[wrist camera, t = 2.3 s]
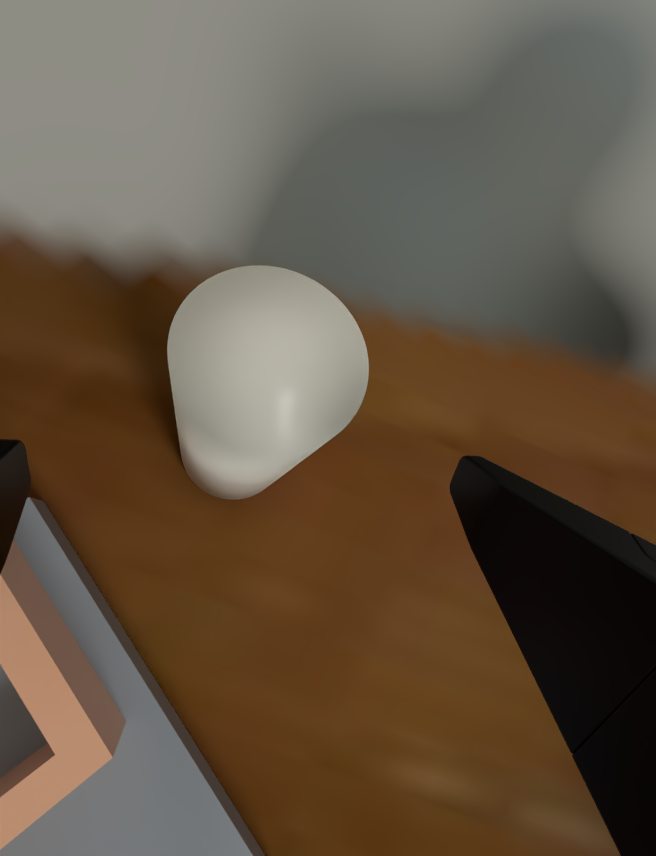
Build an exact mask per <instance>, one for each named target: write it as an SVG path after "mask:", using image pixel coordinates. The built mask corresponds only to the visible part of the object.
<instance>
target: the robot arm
mask: <svg viewBox="0 0 656 856" xmlns="http://www.w3.org/2000/svg"><path fill="white" fill-rule="evenodd" d="M30 484H31V478H30V472H29V466H28V461H27V455H26V450H25V446H24V444H23V443H22V442H21V441H20V440H8V439H0V574H1V572H2V569H3V567H4V565H5V562H6V560H7V557H8V554H9V551H10V548H11V545H12V542H13V539H14V536H15V533H16V530H17V527H18V524H19V521H20V518H21V515H22V512H23V509H24V506H25V503H26V500H27V497H28V493H29V490H30ZM450 493H451V496H452V499H453V501H454V504H455V507H456V509H457V512H458V515H459V518H460V520H461V523H462V526H463V528H464V531H465V534H466V536H467V539H468V542H469V544H470V547H471V549H472V551H473V553H474V555H475V558H476V560H477V562H478V564H479V566H480V568H481V570H482V572H483V574H484V576H485V578H486V580H487V582H488V584H489V586H490V588H491V590H492V592H493V594H494V596H495V598H496V601H497V603H498V605H499V607H500V609H501V611H502V613H503V615H504V617H505V619H506V621H507V623H508V625H509V627H510V629H511V631H512V633H513V635H514V637H515V639H516V641H517V643H518V646H519V648H520V650H521V652H522V654H523V656H524V658H525V660H526V662H527V664H528V666H529V668H530V670H531V672H532V674H533V676H534V678H535V680H536V682H537V684H538V686H539V688H540V691H541V693H542V695H543V697H544V699H545V701H546V703H547V705H548V707H549V709H550V711H551V713H552V715H553V717H554V719H555V721H556V723H557V725H558V727H559V729H560V731H561V733H562V736H563V738H564V740H565V742H566V744H567V746H568V748H569V750H570V752H571V753H573V755H572V757H573V759H574V761H575V763H576V765H577V767H578V769H579V771H580V773H581V775H582V777H583V779H584V781H585V783H586V785H587V787H588V789H589V792H590V794H591V796H592V798H593V800H594V802H595V804H596V806H597V808H598V810H599V812H600V814H601V816H602V818H603V820H604V822H605V824H606V826H607V828H608V830H609V832H610V835H611V837H612V839H613V841H614V843H615V845H616V847H617V849H618V851H619V853H620V855H621V856H656V545H654V544H652V543H650V542H648V541H646V540H644V539H643V538H641V537H639V536H637V535H635V534H630V533H629V532H628V531H627V530H625V529H623V528H621V527H619V526H617V525H615V524H613V523H611V522H609V521H607V520H605V519H603V518H601V517H599V516H597V515H595V514H593V513H591V512H589V511H587V510H585V509H583V508H581V507H579V506H577V505H575V504H573V503H571V502H569V501H568V500H566V499H564V498H562V497H560V496H558V495H556V494H554V493H552V492H550V491H548V490H546V489H544V488H542V487H540V486H538V485H536V484H534V483H532V482H530V481H528V480H526V479H524V478H522V477H520V476H518V475H516V474H514V473H512V472H510V471H508V470H506V469H504V468H503V467H501V466H499V465H497V464H495V463H493V462H491V461H489V460H487V459H485V458H483V457H481V456H463V457H462V458H461V459H460V461H459V463H458V466H457V468H456V470H455V473H454V475H453V478H452V480H451V483H450Z"/></svg>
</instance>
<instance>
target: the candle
mask: <svg viewBox="0 0 656 856" xmlns="http://www.w3.org/2000/svg"><path fill="white" fill-rule="evenodd" d="M167 357H168V367H169V374H170V381H171V388H172V395H173V402H174V409H175V417H176V424H177V431H178V438H179V445H180V452H181V458H182V463H183V466H184V468H185V471H186V472H187V474H188V476H189V477H190V479H191V480H192V481H193V483H194V484H195V485H196V486H197V487H199V488H200V489H201V490H203V491H204V492H206V493H208V494H209V495H212V496H214V497H217V498H221V499H228V500H238V499H244V498H248V497H251V496H254V495H256V494H258V493H260V492H261V491H263V490H264V489H265V488H267V487H268V486H269V485H271V484H272V483H273V482H275V481H276V480H277V479H279V478H280V477H281V476H283V475H284V474H285V473H287V472H288V471H289V470H291V469H292V468H293V467H295V466H296V465H297V464H298V463H300V462H301V461H302V460H304V459H305V458H306V457H308V456H309V455H310V454H312V453H313V452H314V451H316V450H317V449H318V448H320V447H321V446H322V445H324V444H325V443H326V442H328V441H329V440H330V439H332V438H333V437H334V436H335V435H337V434H338V433H339V432H341V431H342V430H343V429H344V428H345V427H346V426H347V425H348V424H349V422H350V421H351V420H352V418H353V417H354V416H355V414H356V413H357V411H358V409H359V407H360V405H361V403H362V401H363V398H364V395H365V393H366V388H367V383H368V374H369V364H368V354H367V349H366V345H365V342H364V339H363V336H362V333H361V331H360V329H359V327H358V325H357V323H356V321H355V320H354V318H353V316H352V315H351V313H350V312H349V311H348V309H347V308H346V307H345V306H344V304H343V303H342V302H341V301H340V300H339V299H338V298H337V297H336V296H335V295H334V294H332V293H331V292H330V291H329V290H328V289H326V288H325V287H323V286H322V285H320V284H319V283H317V282H316V281H314V280H312V279H310V278H308V277H306V276H304V275H302V274H299V273H297V272H294V271H291V270H287V269H284V268H279V267H273V266H259V265H255V266H243V267H238V268H233V269H230V270H227V271H224V272H221V273H219V274H216V275H214V276H212V277H210V278H209V279H207V280H206V281H204V282H203V283H201V284H200V285H198V286H197V287H196V288H195V289H194V290H193V291H192V292H191V293H190V294H189V295H188V296H187V297H186V299H185V300H184V301H183V302H182V304H181V305H180V307H179V309H178V310H177V312H176V314H175V316H174V319H173V321H172V324H171V327H170V331H169V336H168V345H167Z"/></svg>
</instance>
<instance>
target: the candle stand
mask: <svg viewBox="0 0 656 856" xmlns="http://www.w3.org/2000/svg"><path fill="white" fill-rule="evenodd" d="M0 856H265V854H264V853H263V851H262V850H261V848H260V846H259V845H258V843H257V842H256V840H255V838H254V837H253V835H252V834H251V832H250V830H249V829H248V827H247V826H246V824H245V822H244V821H243V819H242V818H241V816H240V814H239V813H238V811H237V810H236V808H235V806H234V805H233V803H232V802H231V800H230V798H229V797H228V795H227V794H226V792H225V790H224V789H223V787H222V786H221V784H220V782H219V781H218V779H217V778H216V776H215V774H214V773H213V771H212V770H211V768H210V766H209V765H208V763H207V762H206V760H205V758H204V757H203V755H202V754H201V752H200V750H199V749H198V747H197V746H196V744H195V742H194V741H193V739H192V738H191V736H190V734H189V733H188V731H187V730H186V728H185V726H184V725H183V723H182V722H181V720H180V718H179V717H178V715H177V714H176V712H175V710H174V709H173V707H172V706H171V704H170V702H169V701H168V699H167V698H166V696H165V694H164V693H163V691H162V690H161V688H160V686H159V685H158V683H157V682H156V680H155V678H154V677H153V675H152V674H151V672H150V670H149V669H148V667H147V666H146V664H145V662H144V661H143V659H142V658H141V656H140V654H139V653H138V651H137V650H136V648H135V646H134V645H133V643H132V642H131V640H130V638H129V637H128V635H127V634H126V632H125V630H124V629H123V627H122V626H121V624H120V622H119V621H118V619H117V618H116V616H115V614H114V613H113V611H112V610H111V608H110V606H109V605H108V603H107V602H106V600H105V598H104V597H103V595H102V594H101V592H100V590H99V589H98V587H97V586H96V584H95V582H94V581H93V579H92V578H91V576H90V574H89V573H88V571H87V570H86V568H85V566H84V565H83V563H82V562H81V560H80V558H79V557H78V555H77V554H76V552H75V550H74V549H73V547H72V546H71V544H70V542H69V541H68V539H67V538H66V536H65V534H64V533H63V531H62V530H61V528H60V526H59V525H58V523H57V522H56V520H55V518H54V517H53V515H52V514H51V512H50V510H49V509H48V507H47V506H46V504H45V502H44V501H42V500H38V499H35V498H31V497H28V498H27V500H26V503H25V506H24V509H23V512H22V515H21V518H20V521H19V524H18V527H17V530H16V533H15V536H14V539H13V542H12V545H11V548H10V551H9V554H8V557H7V560H6V562H5V565H4V567H3V569H2V572H1V574H0Z"/></svg>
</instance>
